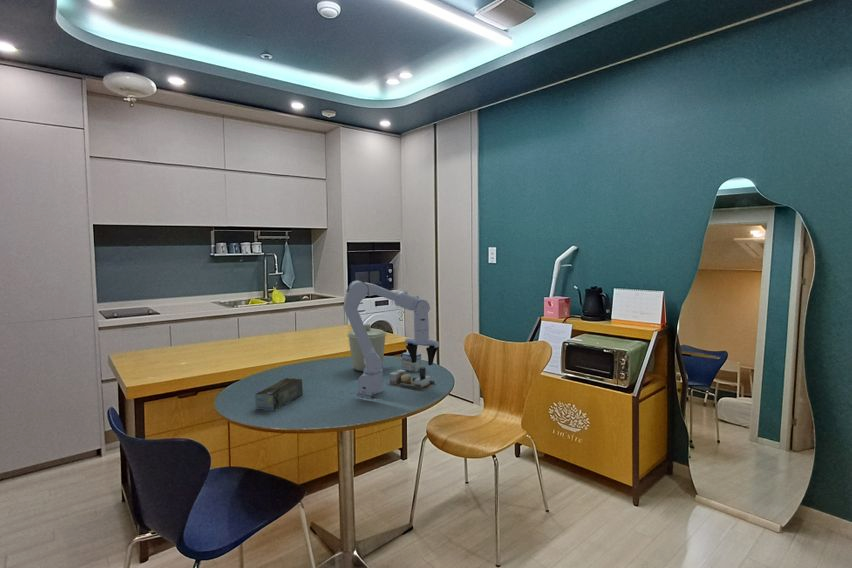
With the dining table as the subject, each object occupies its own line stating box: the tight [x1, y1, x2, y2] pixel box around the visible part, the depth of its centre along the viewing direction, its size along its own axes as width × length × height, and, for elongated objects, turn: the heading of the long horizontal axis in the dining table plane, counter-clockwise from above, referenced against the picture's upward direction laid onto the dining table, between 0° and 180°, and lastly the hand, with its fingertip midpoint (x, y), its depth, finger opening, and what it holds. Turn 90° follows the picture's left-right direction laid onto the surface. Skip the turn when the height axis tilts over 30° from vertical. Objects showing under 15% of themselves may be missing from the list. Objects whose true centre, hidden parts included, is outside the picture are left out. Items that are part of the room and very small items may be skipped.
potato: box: [401, 373, 412, 384], centre depth 182 cm, size 4×4×3 cm
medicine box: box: [401, 351, 422, 372], centre depth 202 cm, size 8×4×9 cm, turn 62°
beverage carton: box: [254, 377, 304, 412], centre depth 166 cm, size 8×19×7 cm, turn 164°
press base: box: [385, 368, 436, 392], centre depth 181 cm, size 10×18×6 cm, turn 58°
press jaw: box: [415, 366, 432, 388], centre depth 178 cm, size 7×3×7 cm, turn 148°
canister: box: [346, 323, 388, 372], centre depth 209 cm, size 18×18×21 cm
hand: (422, 363), depth 178 cm, fingers open, 7 cm apart
